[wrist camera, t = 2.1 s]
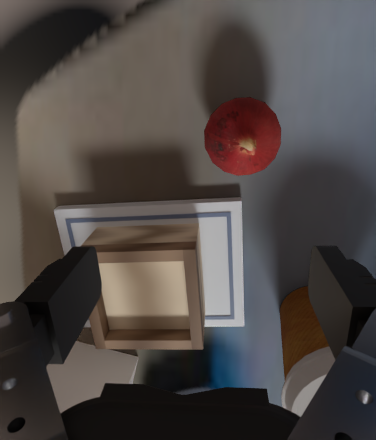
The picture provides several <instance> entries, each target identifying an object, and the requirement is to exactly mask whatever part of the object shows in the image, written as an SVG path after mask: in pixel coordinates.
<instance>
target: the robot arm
mask: <svg viewBox="0 0 376 440" xmlns="http://www.w3.org/2000/svg"><path fill="white" fill-rule="evenodd" d="M101 290H102V282H101V275H100V269H99V263H98V257H97V252H96V249H95V247H93V246H74V247H72V248H71V249H70V250H69V252H68V253H67V254H66V255H65V256H64V257H63V258H62V259H59V260H57V261H55V262H53V263H52V264H50V265H48V266H47V267H46V268H45V269H44V270H43V271H42V272H41V273H40V276H38V277H37V278H36V279H35V280H34V282H32V283H31V284H30V285H29V286H28V287H27V288H26V289H25V291H24V292H23V293H22V294H21V295H20V296H19V297H18V298H17V299H16V300H15V301H14V302H6V303H2V304H0V440H376V280H375V279H374V278H372V275H371V274H370V272H369V271H368V270H367V269H366V268H365V267H364V266H362V265H361V264H359V263H358V262H356V261H354V260H347V259H346V258H345V257H344V255H343V254H342V253H341V251H340V250H339V249H338V247H337V246H314V247H313V248H312V252H311V261H310V270H309V280H308V295H309V299H310V302H311V305H312V307H313V309H314V312H315V314H316V316H317V319H318V321H319V323H320V326H321V328H322V330H323V333H324V335H325V337H326V340H327V342H328V344H329V347H330V349H331V351H332V354H333V356H334V358H335V362H334V364H333V365H332V367H331V368H330V370H329V372H328V373H327V375H326V377H325V378H324V380H323V381H322V383H321V385H320V386H319V388H318V390H317V391H316V393H315V395H314V396H313V398H312V399H311V401H310V403H309V404H308V406H307V408H306V409H305V411H304V413H303V414H302V416H301V417H300V416H298V415H297V414H295V413H293V412H291V411H289V410H287V409H285V408H283V407H280V406H277V405H274V404H271V403H269V400H268V393H267V389H259V388H231V387H225V388H219V389H214V390H209V391H204V392H198V393H193V394H188V395H180V394H176V393H173V392H169V391H165V390H162V389H158V388H155V387H151V386H148V385H144V384H119V383H105V385H104V387H103V390H102V393H101V395H100V397H96V398H92V399H89V400H86V401H83V402H81V403H78V404H76V405H74V406H72V407H70V408H68V409H67V410H65V411H63V412H62V413H60V411H59V408H58V404H57V401H56V398H55V395H54V391H53V388H52V385H51V382H50V378H49V375H48V372H47V369H46V367H47V365H48V364H64V362H65V360H66V358H67V356H68V355H69V353H70V351H71V349H72V347H73V346H74V344H75V342H76V340H77V338H78V336H79V335H80V333H81V331H82V329H83V327H84V326H85V324H86V322H87V320H88V318H89V317H90V315H91V313H92V311H93V309H94V307H95V306H96V304H97V302H98V300H99V298H100V295H101Z"/></svg>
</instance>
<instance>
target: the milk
mask: <svg viewBox="0 0 376 440" xmlns="http://www.w3.org/2000/svg"><path fill="white" fill-rule="evenodd" d="M138 358H139V357H137V356H133V355H129V354H125V353H121V352H118V351H114V350H110V349H96V347H95V346H94V345H90V344H86V343H82V342H78V341H76V342H75V344H74V346H73V347H72V349H71V351H70V353H69V355H68V356H67V358H66V360H65V362H64V364H48V365H47V367H46V369H47V372H48V375H49V378H50V382H51V385H52V388H53V391H54V395H55V398H56V401H57V404H58V408H59V411H60V413H62V412H63V411H65V410H67V409H68V408H70V407H72V406H74V405H76V404H78V403H81V402H83V401H86V400H89V399H92V398H96V397H100V395H101V393H102V390H103V387H104V385H105V383H119V384H132V383H133V379H134V374H135V370H136V366H137V362H138Z"/></svg>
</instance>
